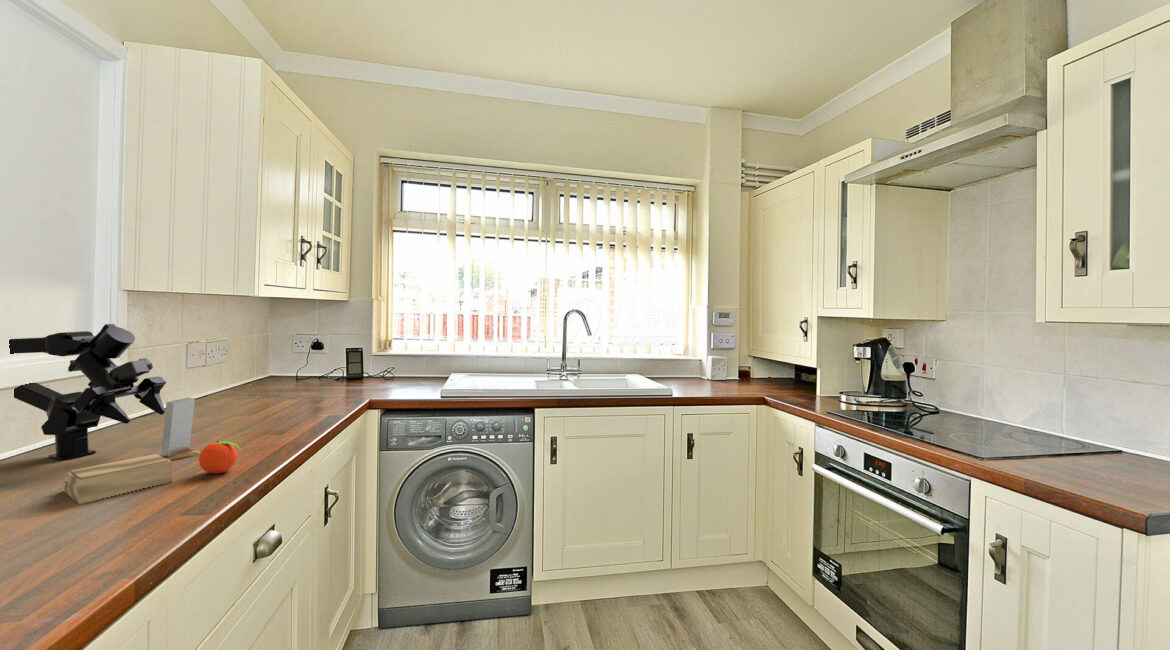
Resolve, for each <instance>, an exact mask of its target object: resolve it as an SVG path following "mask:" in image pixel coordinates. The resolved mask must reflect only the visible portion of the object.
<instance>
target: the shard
mask: <svg viewBox="0 0 1170 650" xmlns="http://www.w3.org/2000/svg"><path fill="white" fill-rule="evenodd" d="M200 453H201V451H199V449H197V448H194V447H192V446H190V450H187V451H184V452H181V453H178V454H175V455H172V456H169V457H166V456H162V457H164V458H166V459H168V460H170V461H171V460H173V461H177V460H181V459H185V458H187V459H188V458H191V457H196V456H199V455H200ZM176 459H177V460H176ZM171 462H172V461H171Z"/></svg>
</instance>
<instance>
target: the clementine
mask: <svg viewBox="0 0 1170 650" xmlns="http://www.w3.org/2000/svg"><path fill="white" fill-rule="evenodd" d="M236 448H238V450H239V451H240V452H242V450H241V448H240V447H239V446H238V444H236V443H234V442H231V441H224V440H223V441H221V440H217V441H215V442H211V443H209V444H208V445H206V446H205V447H203V449H202V450H201V451H200V455H198V456H199V457H198V463H199V466H200V468H201V469H202V470H203V471H204V472H207V473H209V474H215V475H216V474H217V475H218V474H222V473H225V472H226V471H229V470H230V469H232V467H234V465H235V464H236V462H237V460H238V451H237V449H236Z"/></svg>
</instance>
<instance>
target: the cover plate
mask: <svg viewBox="0 0 1170 650" xmlns="http://www.w3.org/2000/svg"><path fill="white" fill-rule="evenodd" d="M195 401H196V398H195V397H194V398H193V397H184V398H179V399H175V400H170V401H167V402H166V403H165V413H164V414H165V415H164V422H163V423H164V424H163V434H162V441H161V442H162V444H161V452H160V456H166V457H169V456H172V455H175V454H178V453H181V452H184V451H187V450H190V447H191V438H192V430H193V421H194V411H195Z"/></svg>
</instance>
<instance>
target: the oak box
mask: <svg viewBox="0 0 1170 650" xmlns="http://www.w3.org/2000/svg"><path fill="white" fill-rule="evenodd" d="M172 471H173V470H172V461H170V460H168V459H166V458H164V457H162V456H161V454H160V455H159V454H157V453H153V454H148V455H143V456H138V457H133V458H127V459H123V460H118V461H113V462H108V463H102V464H98V465H93V466H88V467H83V468H78V469H72V470H70V471H67V478H66V479H64V484H63V492H64V493H65V494H67V495H68V496H69V497H70V498H71V499H73V500H74V501H75V502H76V503H77V504H78V505H82V504H86V503H90V502H95V501H98V500H103V498H104V499H107V497H108V498H111V496H112V497H114V496H115V495H116V496H120V495H124V494H123V493H125V494H128V493H127V492H129V493H132V492H131V491H133V492H136V491H135V490H137V491H140V490H139V489H141V490H143V489H142V488H145V489H149V488H148V487H150V488H153V487H152V486H154V487H157V485H158V486H162V485H166V484H170V483H169V482H171V483H173V474H172V473H173V472H172ZM161 484H162V485H161ZM119 494H120V495H119ZM116 496H115V497H116Z"/></svg>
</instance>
